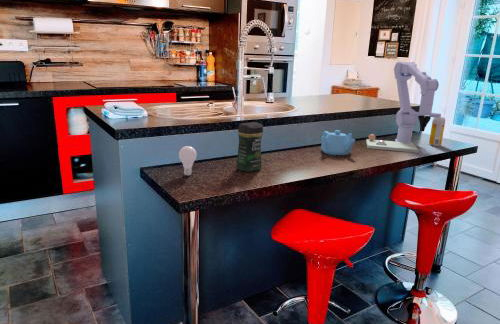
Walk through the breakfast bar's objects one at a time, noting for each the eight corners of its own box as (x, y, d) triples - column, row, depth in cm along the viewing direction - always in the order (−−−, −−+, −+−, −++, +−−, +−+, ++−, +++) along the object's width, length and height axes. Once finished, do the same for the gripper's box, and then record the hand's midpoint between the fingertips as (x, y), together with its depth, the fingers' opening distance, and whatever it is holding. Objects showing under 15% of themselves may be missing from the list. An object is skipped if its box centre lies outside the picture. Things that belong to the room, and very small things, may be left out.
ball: (368, 139, 209) (368, 133, 208) (374, 140, 208) (375, 133, 207) (368, 140, 206) (369, 134, 205) (375, 141, 205) (375, 134, 204)
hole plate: (366, 141, 210) (366, 139, 210) (413, 145, 205) (413, 143, 204) (367, 148, 195) (367, 145, 195) (418, 152, 190) (418, 149, 189)
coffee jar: (246, 173, 146) (248, 125, 141) (233, 169, 151) (234, 122, 146) (264, 169, 152) (267, 122, 147) (251, 165, 158) (252, 119, 153)
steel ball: (377, 139, 200) (384, 139, 200) (377, 146, 201) (384, 146, 201) (378, 141, 197) (385, 140, 196) (378, 147, 198) (385, 147, 197)
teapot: (351, 150, 190) (354, 128, 187) (353, 157, 175) (356, 134, 173) (320, 148, 192) (322, 126, 190) (319, 155, 178) (321, 132, 175)
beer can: (438, 144, 211) (443, 116, 207) (442, 146, 205) (447, 118, 201) (427, 143, 212) (431, 116, 208) (431, 146, 206) (435, 118, 202)
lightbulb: (179, 172, 144) (179, 144, 141) (197, 173, 144) (197, 144, 141) (178, 178, 138) (177, 148, 135) (196, 178, 138) (196, 148, 135)
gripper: (412, 103, 189) (408, 131, 193) (444, 105, 186) (439, 133, 190) (410, 102, 196) (406, 128, 200) (440, 104, 193) (436, 131, 196)
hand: (422, 130), depth 195 cm, fingers closed
